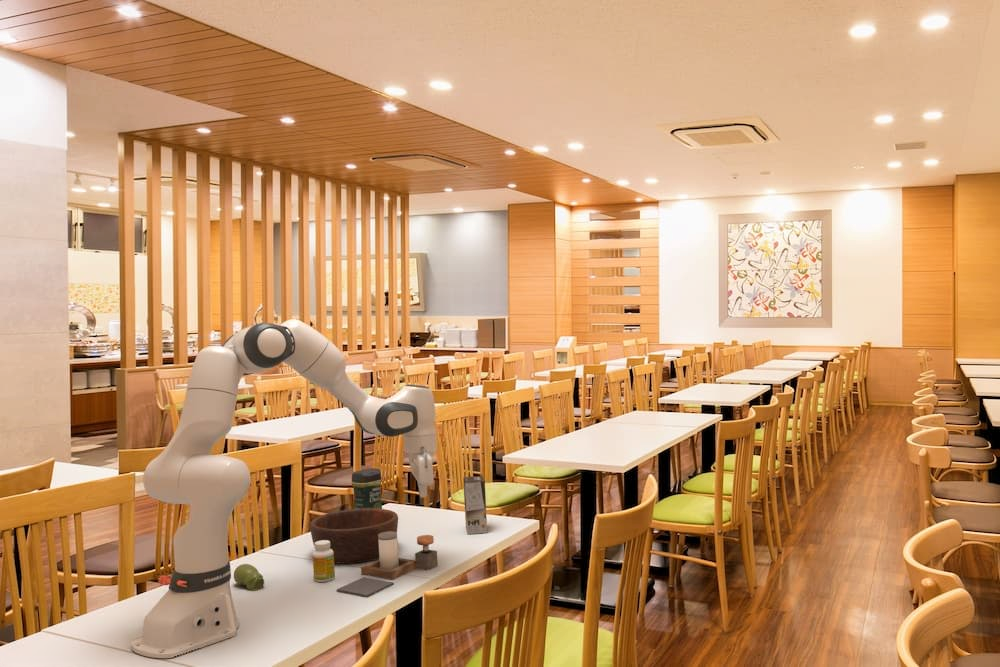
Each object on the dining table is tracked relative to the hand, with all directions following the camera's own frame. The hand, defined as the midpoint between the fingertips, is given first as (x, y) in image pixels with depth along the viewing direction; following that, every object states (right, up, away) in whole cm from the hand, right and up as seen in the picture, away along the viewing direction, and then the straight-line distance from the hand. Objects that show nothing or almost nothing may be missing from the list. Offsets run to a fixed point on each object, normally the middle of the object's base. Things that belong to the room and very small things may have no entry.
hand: (423, 496), depth 217 cm
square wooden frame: (-6, -19, -1) cm, 20 cm away
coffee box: (+13, -18, +35) cm, 42 cm away
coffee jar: (-22, -19, +47) cm, 55 cm away
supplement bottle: (-25, -21, -6) cm, 33 cm away
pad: (-13, -20, -14) cm, 28 cm away
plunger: (+1, -16, 0) cm, 16 cm away
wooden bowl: (-21, -20, +16) cm, 33 cm away
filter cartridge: (-9, -20, -2) cm, 22 cm away
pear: (-44, -22, -8) cm, 50 cm away
